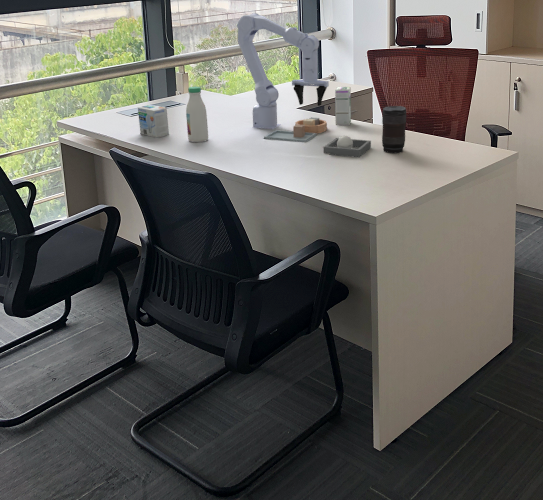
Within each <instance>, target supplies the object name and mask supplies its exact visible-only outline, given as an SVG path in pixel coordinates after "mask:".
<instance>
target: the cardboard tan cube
mask: <svg viewBox="0 0 543 500" xmlns="http://www.w3.org/2000/svg"><path fill="white" fill-rule="evenodd" d="M292 127H293V129H292V130H293V134H294V137H304V136H305V125H293V126H292Z"/></svg>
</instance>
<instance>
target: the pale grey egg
mask: <svg viewBox="0 0 543 500" xmlns="http://www.w3.org/2000/svg"><path fill="white" fill-rule="evenodd" d="M338 138H339V139H338V141H337V146H336V147H340V148H351V149H353V147H352V146H353V141H352V139H353V138H351V137H350V136H349V135H342V136H340V137H338Z"/></svg>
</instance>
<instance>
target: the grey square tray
mask: <svg viewBox="0 0 543 500" xmlns="http://www.w3.org/2000/svg"><path fill="white" fill-rule="evenodd" d="M339 138H340V137H335V138H334V139H332V140H331V141H330V142H329V143H327V144H325V145H324V146H323V154H328V155H329V156H340V157H349V158H350V157H351V158H361V157H362V156H363V155H364V154H365V153H366V152H368V151H369V150H370V149H371V147H372V140H366V139H355V138H354V139H353V138H351V139H352V141H353V146H352V148H340V147H337V141H338V139H339Z"/></svg>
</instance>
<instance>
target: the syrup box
mask: <svg viewBox="0 0 543 500" xmlns="http://www.w3.org/2000/svg"><path fill="white" fill-rule="evenodd" d="M351 90H352V89H351V87H350V86H338V87H336V89H335V91H334V95H335V97H334V99H335V100H334V101H335V102H334V104H335V106H334V107H335V109H334V110H335V111H334V113H335V115H334V116H335V118H334V119H335V126H344V127H345V126H351V125H350V124H351V122H352V119H351V118H352V117H351V116H352V105H351V103H352V102H351V101H352V99H351V98H352V97H351V96H352V95H351Z"/></svg>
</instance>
